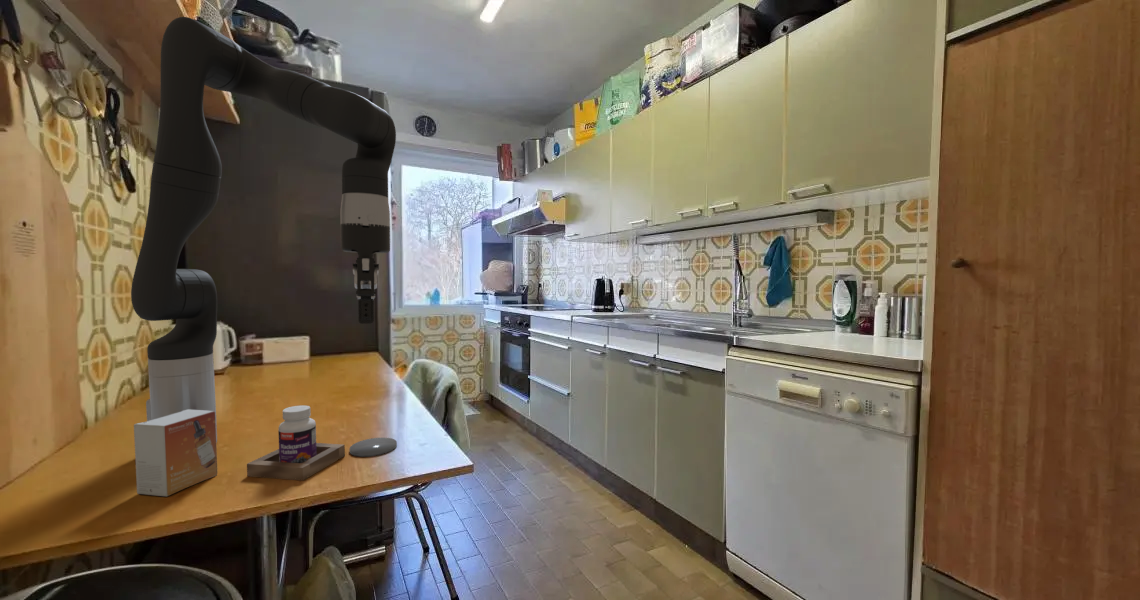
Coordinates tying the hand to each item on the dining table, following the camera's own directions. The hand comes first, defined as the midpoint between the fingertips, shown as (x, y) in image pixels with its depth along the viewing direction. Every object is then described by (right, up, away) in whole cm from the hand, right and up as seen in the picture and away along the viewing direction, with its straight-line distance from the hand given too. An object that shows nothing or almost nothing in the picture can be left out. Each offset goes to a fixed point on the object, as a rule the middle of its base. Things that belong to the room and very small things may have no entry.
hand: (366, 320), depth 77 cm
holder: (-11, -24, 0) cm, 27 cm away
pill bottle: (-11, -25, 0) cm, 27 cm away
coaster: (-2, -24, +7) cm, 25 cm away
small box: (-26, -25, -7) cm, 36 cm away
